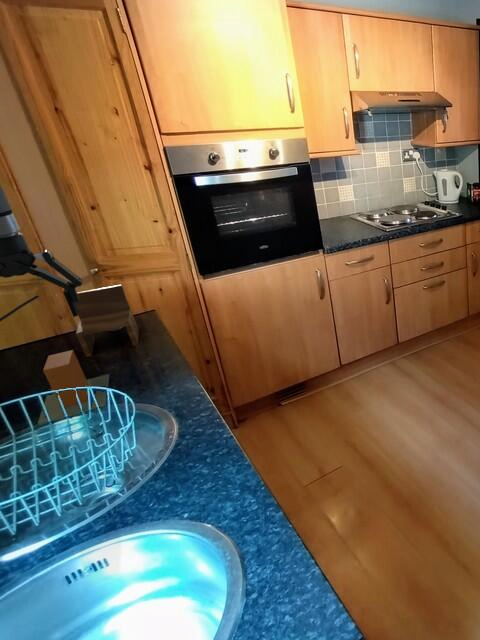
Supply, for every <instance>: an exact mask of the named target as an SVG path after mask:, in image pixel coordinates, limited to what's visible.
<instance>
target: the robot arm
mask: <svg viewBox="0 0 480 640" xmlns="http://www.w3.org/2000/svg"><path fill="white" fill-rule="evenodd" d="M20 230H21V228H20V225H19V223H18V221H17V219H16V216H15V215H14V212H13V210H12V207H11V206H10V203H9V201H8V198H7V196H6V194H5V191H4V189H3V186H2V185H1V183H0V278H4V279H8V278H12V277H15V276H16V277H20V276H21V277H22V276H25V275H26V274H29V275H31V276H36V277H38V278H41V279H42V280H44V281H47V282H49V283H51V284H53V285H54V286H55V285H56V286H57V287H59V288H61V289H63V291H62V293H63V296H64V298H65V301H66V303H67V305H68V307H69V310H70V312H71V314H72V317H73V318H75V317H79V316H78V313H79V311H78V309H77V306H76V304H75V302H78V300H79V296H78V294H77V292H78V291H77V289H76V288H78V287H81V286H82V285H83V283H84V280H83V279H82V278H81V277H80V276H79V275H78V274H76V273H74V271H72V270H71V269H70V268H68V267H67V266H66V265H65V264H63V263H62V262H61V261H59V260H58V259H57V258H56V257H55V256H54V254H53V252H52V251H51V250H50V249H44V250H43V251H40V252H36V253H33V252H32V251H31V250H30V247H29V246H28V244H27V241H26V239H25V237H24V234H23V233H21V232H20ZM36 260H39V261H41V262H43V263H47V265H48V266H49V267H51V268H52V269H53V270H55V271H56V272H57V273H59V274H60V275H62V277H61V276H59V275H57V274H55V273H52V272H50V271H48V270H47V269H45V268H43V267H41V266H39V265H38V264H37V263H35V261H36ZM63 277H64V278H63ZM39 298H40V296H39V295H38V294H37V295H34V296H33V297H31V298H30V299H28V300H26V301H24V302H23V303H21V304H20V305H18V306H17V307H15V308H14V309H12V310H11V311H8V313H6V314H4V315H2V316H1V317H0V322H2V321H4V320H5V319H7V318H8V317H9V316H11V315H12V314H14V313H16V312H17V311H18V310H20V309H22V308H23V307H25V306H26V305H28V304H29V303H32V302H33V301H35V300H37V299H39Z"/></svg>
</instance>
